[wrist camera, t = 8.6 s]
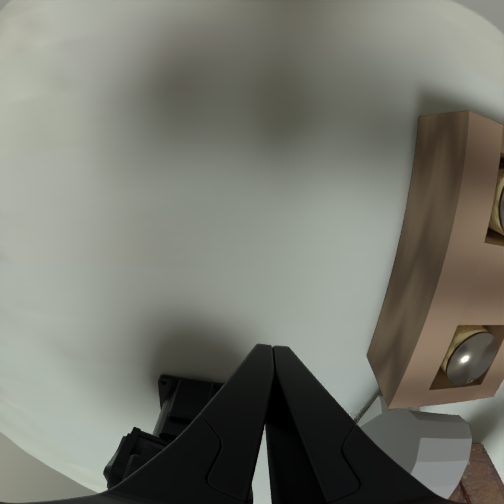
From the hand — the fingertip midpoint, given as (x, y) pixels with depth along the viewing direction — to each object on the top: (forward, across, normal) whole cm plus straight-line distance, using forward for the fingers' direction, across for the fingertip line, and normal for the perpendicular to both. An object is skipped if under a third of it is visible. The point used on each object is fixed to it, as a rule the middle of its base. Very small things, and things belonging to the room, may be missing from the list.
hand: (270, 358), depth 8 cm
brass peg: (+13, -14, +5) cm, 20 cm away
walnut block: (+13, -14, 0) cm, 19 cm away
